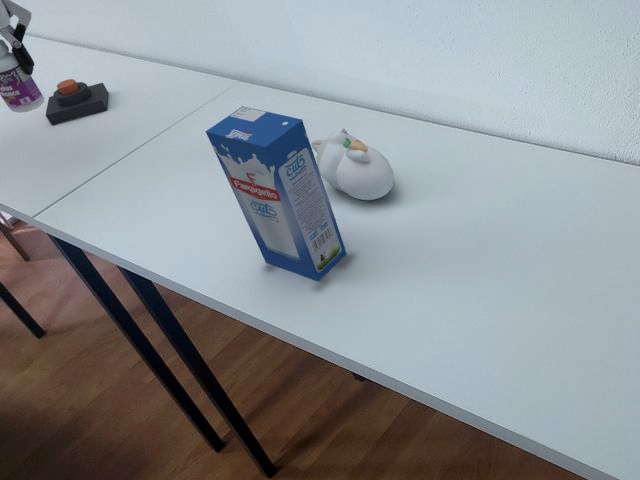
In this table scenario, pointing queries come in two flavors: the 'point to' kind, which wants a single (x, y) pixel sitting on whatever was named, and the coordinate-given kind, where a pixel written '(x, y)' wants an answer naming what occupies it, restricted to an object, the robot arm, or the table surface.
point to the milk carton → (279, 190)
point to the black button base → (77, 103)
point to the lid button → (68, 86)
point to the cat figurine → (353, 166)
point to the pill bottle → (17, 84)
